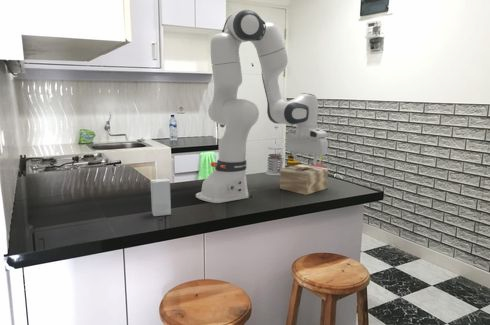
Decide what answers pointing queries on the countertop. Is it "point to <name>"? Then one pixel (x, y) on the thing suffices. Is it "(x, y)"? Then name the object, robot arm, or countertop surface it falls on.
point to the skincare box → (160, 197)
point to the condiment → (292, 161)
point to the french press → (274, 160)
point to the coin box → (303, 179)
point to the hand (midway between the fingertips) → (304, 162)
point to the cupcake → (319, 164)
